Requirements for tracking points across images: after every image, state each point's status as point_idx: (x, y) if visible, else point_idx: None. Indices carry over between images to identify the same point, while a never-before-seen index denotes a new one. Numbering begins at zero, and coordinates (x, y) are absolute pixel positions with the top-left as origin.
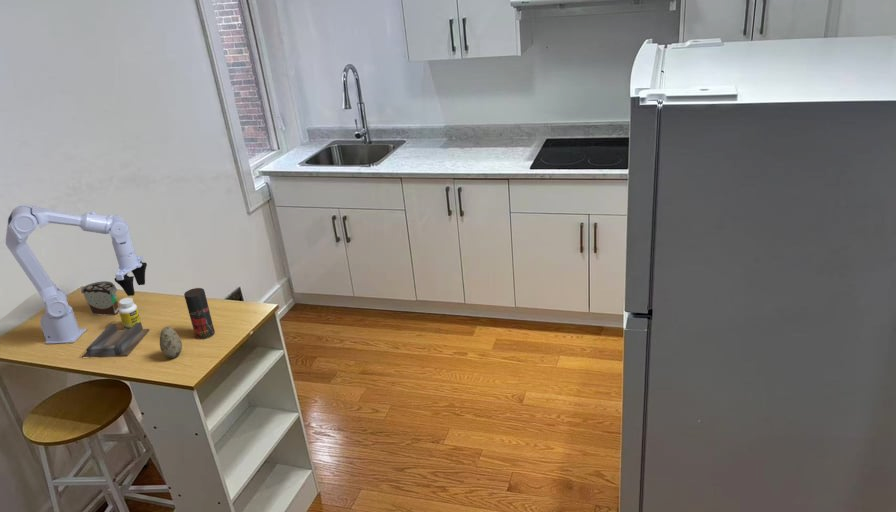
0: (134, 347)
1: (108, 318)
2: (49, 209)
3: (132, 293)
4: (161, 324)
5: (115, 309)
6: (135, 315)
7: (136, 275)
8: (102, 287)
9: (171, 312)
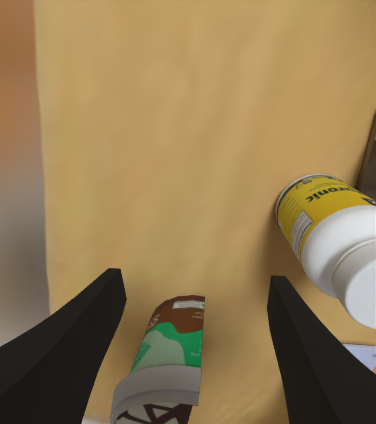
0: None
1: (223, 309)
2: None
3: (293, 291)
4: (325, 64)
5: (196, 310)
6: (368, 197)
7: (92, 363)
8: (152, 422)
9: (194, 71)
